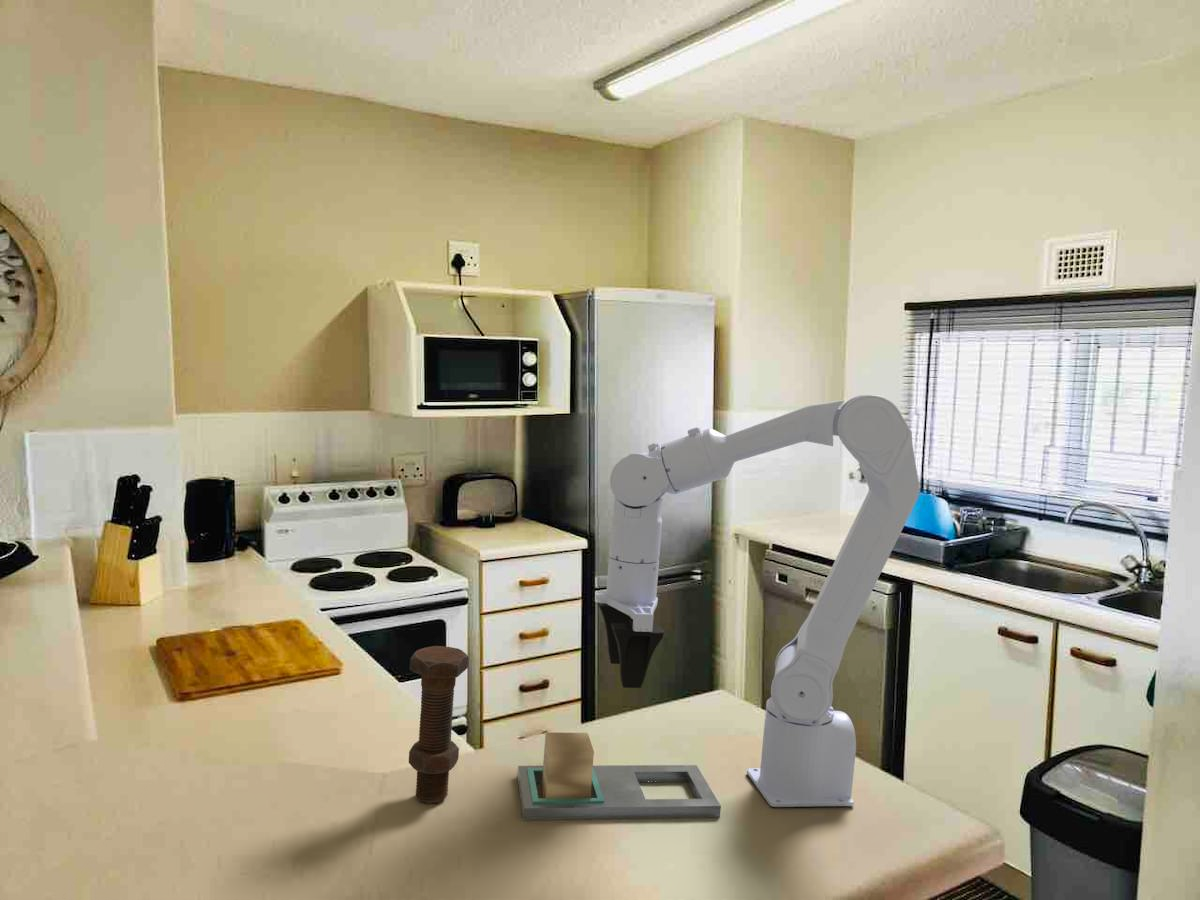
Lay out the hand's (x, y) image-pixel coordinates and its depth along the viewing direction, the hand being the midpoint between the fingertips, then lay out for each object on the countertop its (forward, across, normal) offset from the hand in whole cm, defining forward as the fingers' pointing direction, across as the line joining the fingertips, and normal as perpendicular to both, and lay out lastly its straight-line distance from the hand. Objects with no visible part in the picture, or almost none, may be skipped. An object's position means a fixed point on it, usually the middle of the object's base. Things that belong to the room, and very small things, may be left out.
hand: (625, 674), depth 97 cm
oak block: (+10, +9, -7) cm, 15 cm away
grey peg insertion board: (+10, +9, -2) cm, 14 cm away
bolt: (+10, +9, -21) cm, 25 cm away
